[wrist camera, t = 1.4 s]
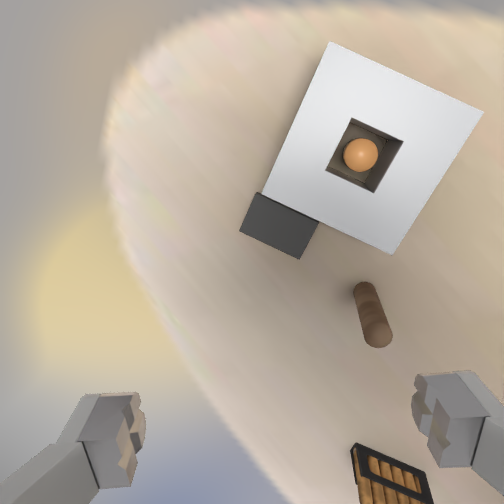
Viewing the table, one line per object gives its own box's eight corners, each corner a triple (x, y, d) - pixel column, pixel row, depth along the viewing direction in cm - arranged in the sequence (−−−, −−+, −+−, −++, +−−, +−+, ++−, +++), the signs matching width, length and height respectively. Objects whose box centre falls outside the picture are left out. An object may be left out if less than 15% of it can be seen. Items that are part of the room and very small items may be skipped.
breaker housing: (452, 115, 35) (484, 112, 29) (379, 235, 40) (392, 255, 34) (326, 57, 35) (329, 40, 29) (270, 183, 40) (261, 193, 34)
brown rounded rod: (379, 287, 42) (398, 331, 33) (368, 304, 43) (383, 352, 34) (360, 278, 42) (372, 319, 33) (349, 295, 43) (359, 340, 34)
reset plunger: (379, 145, 34) (384, 146, 32) (364, 174, 36) (367, 176, 33) (352, 133, 34) (354, 133, 32) (337, 161, 36) (338, 163, 33)
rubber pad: (318, 221, 41) (318, 223, 40) (299, 256, 43) (299, 259, 42) (257, 192, 41) (255, 193, 40) (240, 228, 43) (239, 231, 42)
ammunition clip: (425, 472, 50) (457, 570, 39) (418, 480, 51) (448, 579, 39) (355, 442, 50) (367, 530, 39) (350, 450, 51) (359, 540, 40)
